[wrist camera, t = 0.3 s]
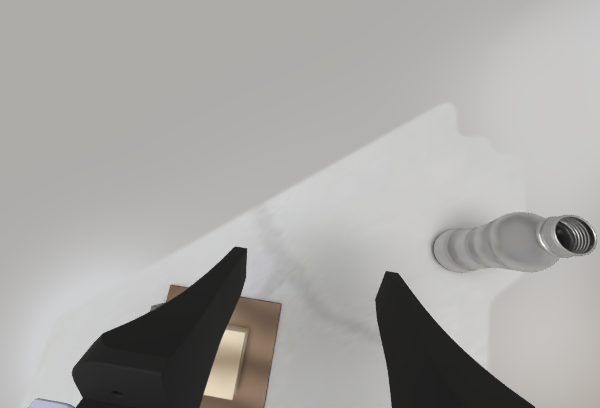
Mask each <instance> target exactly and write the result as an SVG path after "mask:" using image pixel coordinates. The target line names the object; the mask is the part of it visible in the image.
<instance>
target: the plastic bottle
mask: <svg viewBox="0 0 600 408" xmlns="http://www.w3.org/2000/svg"><path fill="white" fill-rule="evenodd" d="M596 244H597V236H596V233H595V231H594V229H593V228H592V227H591V225H590V224H589V223H588V222H587V221H585V220H584V219H582V218H580V217H578V216H574V215H564V216H559V217H549V218H543V217H541V216H538V215H536V214H532V213H524V212H513V213H510V214H506V215H504V216H501V217H499V218H498V219H496V220H494V221H492V222H490V223H488V224H485V225H482V226H479V227H476V228H469V229H451V230H448V231H446V232H444V233H442V234H441V235H440V236H438V238H437V239H436V241H435V243H434V254H435V256H436V259H437V260H438V262H439V263H440V264H441V265H442V266H444V267H445V268H447V269H449V270H452V271H455V272H461V273H464V272H470V271H474V270H477V269H481V268H504V269H510V270H516V271H522V272H537V271H541V270H544V269H546V268H548V267H551V266H552V265H554V264H555V263H556V262H557V261H558V260H559V259H560V258H568V257H573V256H583V255H587V254H589V253H591V252H592V251H593V250H594V249H595V247H596Z"/></svg>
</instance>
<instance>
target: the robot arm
mask: <svg viewBox="0 0 600 408" xmlns="http://www.w3.org/2000/svg"><path fill="white" fill-rule="evenodd" d="M246 262H247V248H241V247H234V248H233V249H232V250H231V251H230V252H229V253H228V254H227V255H226V256H225V257H224V258H223V259H222V260H221V261H220V262H219V263H218V264H217V265H215V266H214V267H213V268H212V269H211V270H210V271H209V272H208V273H207V274H205V275H204V276H203V277H202V278H200V279H199V280H198V281H197V282H195V283H194V284H193V285H192V286H190V287H189V288H188V289H186V290H185V291H183V292H182V293H180V294H179V295H177V296H176V297H174V298H173V299H171V300H170V301H168V302H166V303H165V304H163V305H161V306H160V307H158V308H156V309H154V310H153V311H151V312H149V313H147V314H145V315H143V316H141V317H139V318H137V319H135V320H133V321H131V322H129V323H126V324H124V325H122V326H119V327H117V328H115V329H112V330H110V331H107V332H105V333H103V334H102V335H101V336H100V337H99V338H98V339H97V340H96V341H95V342H94V343H93V345H92V346H91V347H90V348H89V349H88V351H87V352H86V353H85V354H84V355H83V357H82V358H81V359H80V360H79V362H78V363H77V364H76V365H75V366H74V368H73V371H72V376H73V379H74V382H75V384H76V386H77V388H78V389H79V391H80V393H81V395H82V397H83V399H82V400H81V401H80V403H79V404H78V405H77V407H76V408H200V405H201V401H202V398H203V395H204V391H205V388H206V385H207V382H208V379H209V375H210V372H211V369H212V366H213V363H214V360H215V357H216V354H217V351H218V348H219V345H220V342H221V340H222V337H223V334H224V332H225V330H226V328H227V325H228V323H229V321H230V319H231V316H232V314H233V312H234V309H235V307H236V305H237V302H238V300H239V298H240V295H241V292H242V289H243V286H244V282H245V279H246ZM375 301H376V313H377V321H378V326H379V331H380V336H381V340H382V345H383V349H384V354H385V359H386V363H387V369H388V376H389V385H390V393H391V403H392V408H535V407H534V406H533V405H532V404H530V403H529V402H527V401H526V400H525V399H523V398H522V397H520V396H519V395H518V394H516V393H515V392H513V391H512V390H511V389H509V388H508V387H507V386H505V385H504V384H503V383H502V382H500V381H499V380H498V379H497V378H495V377H494V376H493V375H492V374H490V373H489V372H488V371H487V370H485V369H484V368H483V367H482V366H481V365H479V364H478V363H477V362H476V361H475V360H474V359H473V358H472V357H470V356H469V355H468V354H467V353H466V352H465V351H464V350H463V349H462V348H461V347H460V346H459V345H458V344H457V343H456V342H455V341H454V340H453V339H452V338H451V337H450V336H449V335H448V334H447V333H446V332H445V331H444V330H443V329H442V328H441V327H440V326H439V325H438V323H437V322H436V321H435V320H434V319H433V318H432V317H431V315H430V314H429V313H428V312H427V311H426V309H425V308H424V307H423V306H422V304H421V303H420V302H419V301H418V299H417V298H416V297H415V295H414V294H413V293H412V291H411V290H410V289H409V287H408V286H407V284H406V283H405V282H404V280H403V279H402V278H401V276H400V275H399V274H398V273H394V272H388V271H386V273H385V275H384V278H383V280H382V283H381V286H380V288H379V291H378V294H377V296H376V299H375ZM28 408H75V407H74V406H72V405H70V404H67V403H62V402H57V401H51V400H45V399H40V398H38V399H35V400H34V401H33V402H32V403H31V404H30V405H29V407H28Z"/></svg>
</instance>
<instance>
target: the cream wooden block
mask: <svg viewBox="0 0 600 408" xmlns="http://www.w3.org/2000/svg"><path fill="white" fill-rule="evenodd" d="M248 332H249V328H244V327H238V326H233V325H227V328H226V330H225V332H224V334H223V337H222V340H221V342H220V345H219V348H218V351H217V354H216V357H215V360H214V363H213V366H212V369H211V372H210V375H209V379H208V382H207V385H206V388H205V391H204V395H207V396H213V397H218V398H224V399H229V400H233V398H234V396H235V394H236V392H237V389H238V384H239V379H240V374H241V369H242V364H243V358H244V353H245V348H246V343H247V338H248Z"/></svg>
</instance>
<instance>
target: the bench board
mask: <svg viewBox="0 0 600 408" xmlns="http://www.w3.org/2000/svg"><path fill="white" fill-rule="evenodd" d="M186 289H188V288H186V287H180V286H174V285H170V289H169V293H168V297H167V300H166V302H168V301H170V300H171V299H173V298H174V297H176V296H177V295H179V294H180V293H182V292H183V291H185V290H186ZM163 304H165V303H162V304H158V305H154V306H151V310H150V312H151V311H153V310H154V309H156V308H158V307H160V306H161V305H163ZM280 309H281V304H279V303H273V302H267V301H262V300H256V299H250V298H244V297H240V298H239V300H238V302H237V305H236V307H235V309H234V312H233V314H232V316H231V319H230V321H229V323H228V325H233V326H238V327H244V328H249V332H248V338H247V343H246V348H245V353H244V358H243V364H242V369H241V374H240V379H239V384H238V389H237V392H236V394H235V396H234V398H233V400H229V399H224V398H218V397H213V396H207V395H203V398H202V401H201V405H200V408H264V403H265V397H266V392H267V386H268V380H269V374H270V368H271V362H272V356H273V350H274V344H275V338H276V332H277V327H278V321H279V315H280Z"/></svg>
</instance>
